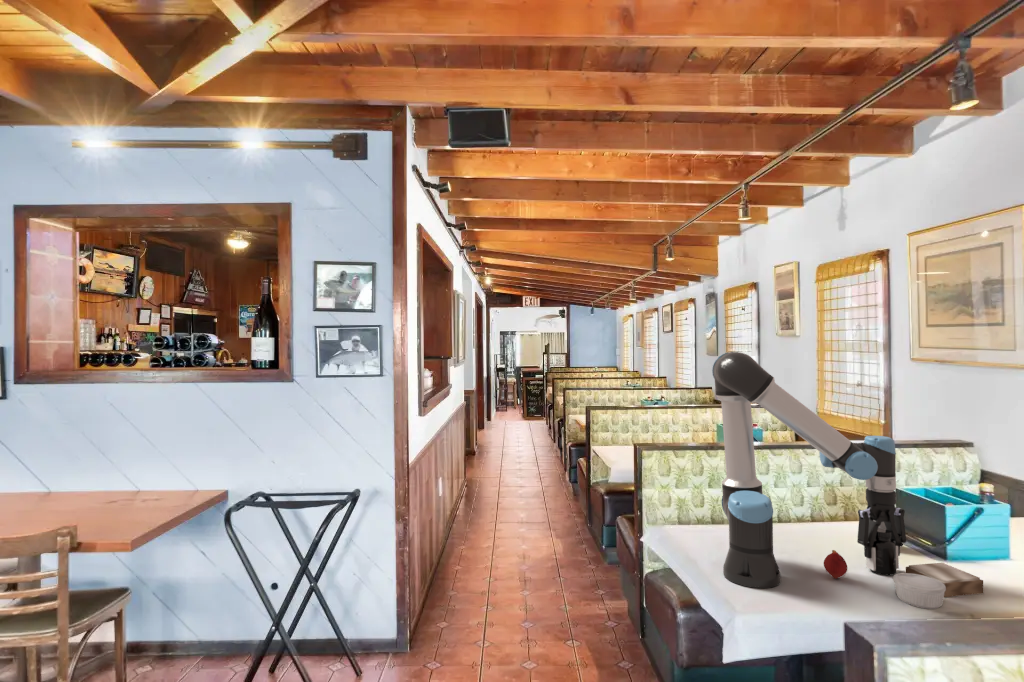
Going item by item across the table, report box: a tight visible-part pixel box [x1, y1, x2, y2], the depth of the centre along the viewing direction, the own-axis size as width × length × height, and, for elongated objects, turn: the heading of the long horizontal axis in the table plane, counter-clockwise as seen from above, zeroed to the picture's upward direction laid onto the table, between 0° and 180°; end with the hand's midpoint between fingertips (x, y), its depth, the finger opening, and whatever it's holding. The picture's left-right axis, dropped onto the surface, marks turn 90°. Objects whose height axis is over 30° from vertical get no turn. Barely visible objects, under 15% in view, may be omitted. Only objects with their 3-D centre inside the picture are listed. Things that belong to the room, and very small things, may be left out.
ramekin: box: [892, 572, 946, 610], centre depth 147 cm, size 11×11×5 cm
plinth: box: [905, 562, 984, 598], centre depth 155 cm, size 12×12×4 cm
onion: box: [823, 549, 848, 580], centre depth 161 cm, size 6×6×8 cm
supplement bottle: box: [868, 528, 897, 576], centre depth 166 cm, size 7×7×12 cm
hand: (882, 567), depth 166 cm, fingers closed on supplement bottle, 7 cm apart
